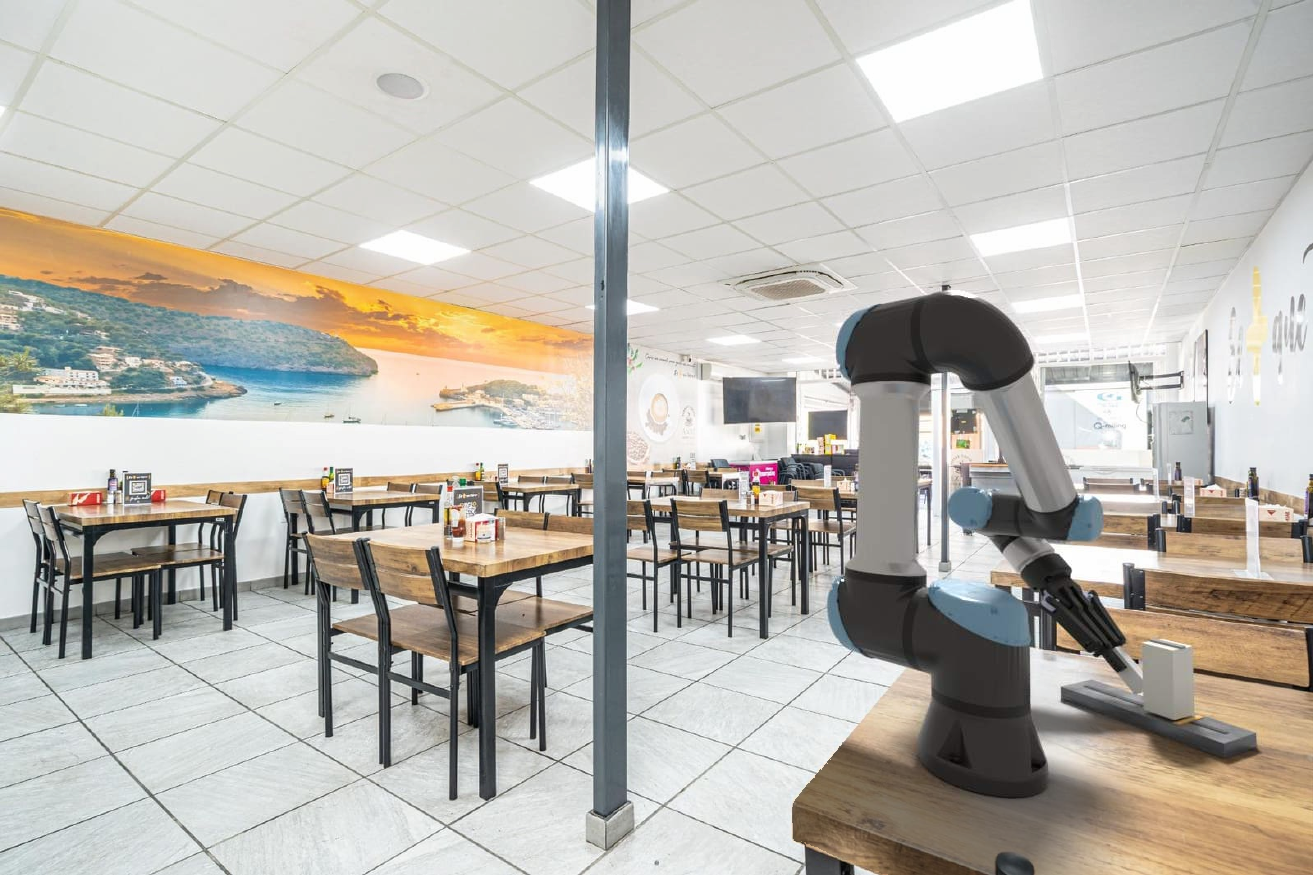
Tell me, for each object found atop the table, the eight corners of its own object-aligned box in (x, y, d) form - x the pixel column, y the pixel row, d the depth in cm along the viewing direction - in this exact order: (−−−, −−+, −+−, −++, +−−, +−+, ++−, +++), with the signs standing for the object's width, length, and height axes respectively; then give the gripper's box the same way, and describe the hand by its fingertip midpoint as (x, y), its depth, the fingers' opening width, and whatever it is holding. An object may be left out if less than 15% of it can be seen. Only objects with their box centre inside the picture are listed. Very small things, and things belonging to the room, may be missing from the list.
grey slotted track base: (1060, 698, 102) (1060, 685, 102) (1091, 691, 106) (1091, 678, 106) (1224, 758, 82) (1224, 742, 82) (1256, 747, 85) (1256, 731, 85)
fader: (1143, 709, 92) (1141, 640, 93) (1163, 704, 94) (1161, 636, 95) (1174, 720, 89) (1173, 648, 89) (1194, 714, 91) (1192, 644, 91)
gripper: (1026, 553, 105) (1137, 684, 90) (1076, 548, 111) (1188, 671, 95) (999, 578, 110) (1099, 707, 94) (1047, 572, 115) (1150, 694, 100)
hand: (1144, 689), depth 95 cm, fingers closed
